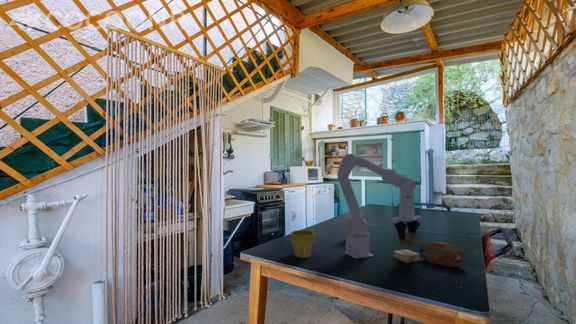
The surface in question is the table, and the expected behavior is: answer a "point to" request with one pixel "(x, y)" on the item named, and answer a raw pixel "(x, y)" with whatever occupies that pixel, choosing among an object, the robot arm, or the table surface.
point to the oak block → (406, 256)
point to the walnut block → (409, 239)
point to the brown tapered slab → (442, 253)
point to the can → (348, 226)
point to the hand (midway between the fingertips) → (406, 239)
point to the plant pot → (302, 242)
